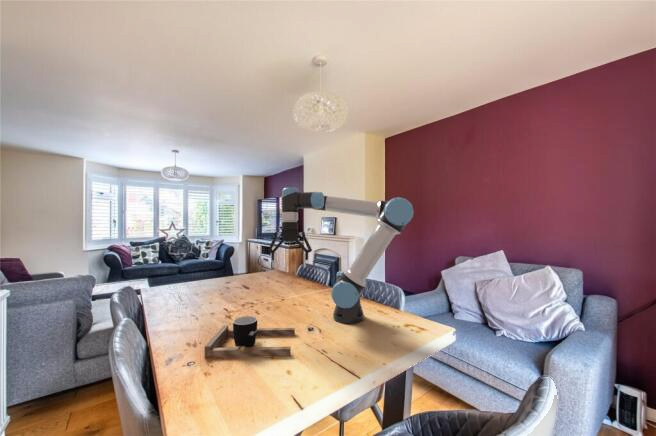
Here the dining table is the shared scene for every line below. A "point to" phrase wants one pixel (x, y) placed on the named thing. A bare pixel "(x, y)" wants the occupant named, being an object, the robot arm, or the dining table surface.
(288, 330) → the frame
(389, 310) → the dining table surface
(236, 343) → the mug
